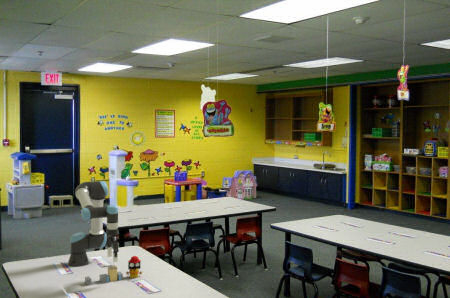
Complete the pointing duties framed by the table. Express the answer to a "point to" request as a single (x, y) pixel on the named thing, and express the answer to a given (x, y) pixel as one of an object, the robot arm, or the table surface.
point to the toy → (134, 267)
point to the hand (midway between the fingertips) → (112, 259)
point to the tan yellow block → (112, 273)
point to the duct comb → (102, 279)
